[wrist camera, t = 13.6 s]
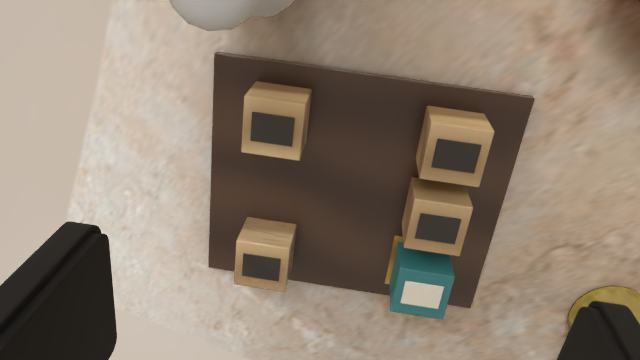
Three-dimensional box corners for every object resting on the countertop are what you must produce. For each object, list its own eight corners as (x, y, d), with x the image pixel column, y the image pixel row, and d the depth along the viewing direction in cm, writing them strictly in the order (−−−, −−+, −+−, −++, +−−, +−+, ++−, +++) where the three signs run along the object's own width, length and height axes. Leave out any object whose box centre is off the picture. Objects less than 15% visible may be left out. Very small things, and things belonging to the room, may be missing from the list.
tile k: (247, 216, 42) (235, 241, 38) (297, 223, 41) (290, 249, 38) (244, 257, 43) (233, 285, 40) (292, 265, 43) (285, 293, 40)
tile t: (411, 176, 39) (414, 199, 35) (465, 184, 38) (473, 208, 35) (401, 222, 40) (403, 249, 37) (453, 230, 40) (460, 257, 37)
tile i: (426, 104, 36) (431, 122, 33) (484, 113, 36) (495, 131, 33) (415, 157, 38) (418, 179, 35) (470, 165, 38) (479, 188, 35)
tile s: (398, 241, 41) (399, 268, 38) (449, 249, 41) (455, 277, 38) (389, 282, 43) (390, 312, 39) (438, 290, 43) (443, 320, 39)
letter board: (216, 51, 37) (213, 53, 36) (532, 96, 36) (535, 98, 35) (210, 263, 45) (208, 267, 44) (469, 303, 44) (470, 309, 43)
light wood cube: (255, 80, 37) (243, 95, 33) (312, 88, 37) (305, 104, 33) (252, 134, 38) (240, 153, 35) (306, 141, 38) (299, 161, 35)
